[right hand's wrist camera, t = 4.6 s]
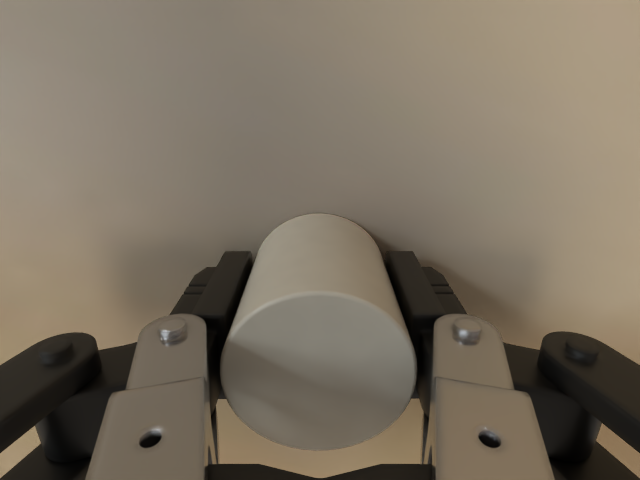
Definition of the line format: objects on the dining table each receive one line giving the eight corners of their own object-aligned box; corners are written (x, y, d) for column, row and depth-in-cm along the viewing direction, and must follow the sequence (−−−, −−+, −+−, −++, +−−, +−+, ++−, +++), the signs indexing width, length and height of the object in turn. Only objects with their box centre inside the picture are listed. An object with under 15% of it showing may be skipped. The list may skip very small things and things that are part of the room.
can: (241, 310, 13) (201, 429, 9) (273, 195, 12) (244, 267, 7) (358, 341, 13) (377, 468, 9) (403, 234, 12) (450, 323, 8)
